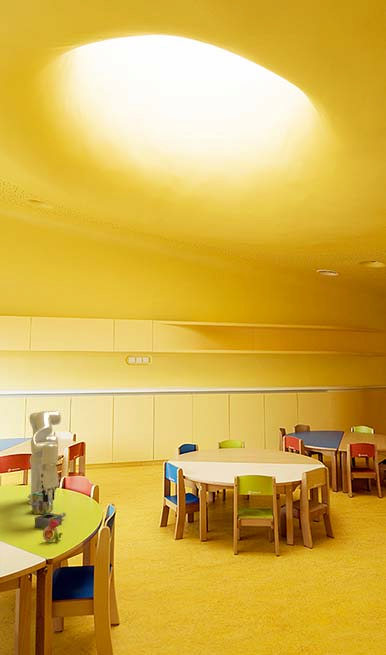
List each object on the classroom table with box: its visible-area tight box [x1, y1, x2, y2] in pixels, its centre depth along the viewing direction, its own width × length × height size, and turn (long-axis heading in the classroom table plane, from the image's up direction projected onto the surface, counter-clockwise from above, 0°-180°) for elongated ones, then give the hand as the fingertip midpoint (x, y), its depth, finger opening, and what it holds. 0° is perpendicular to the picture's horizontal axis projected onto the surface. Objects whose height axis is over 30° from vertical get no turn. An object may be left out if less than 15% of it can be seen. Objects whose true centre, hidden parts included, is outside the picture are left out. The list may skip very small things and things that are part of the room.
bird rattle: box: [42, 520, 63, 544], centre depth 225 cm, size 6×11×9 cm
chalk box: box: [31, 491, 54, 515], centre depth 273 cm, size 9×9×15 cm
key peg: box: [45, 488, 54, 506], centre depth 249 cm, size 5×5×11 cm
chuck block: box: [34, 512, 67, 530], centre depth 251 cm, size 10×17×5 cm, turn 151°
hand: (48, 500), depth 249 cm, fingers closed on key peg, 4 cm apart
